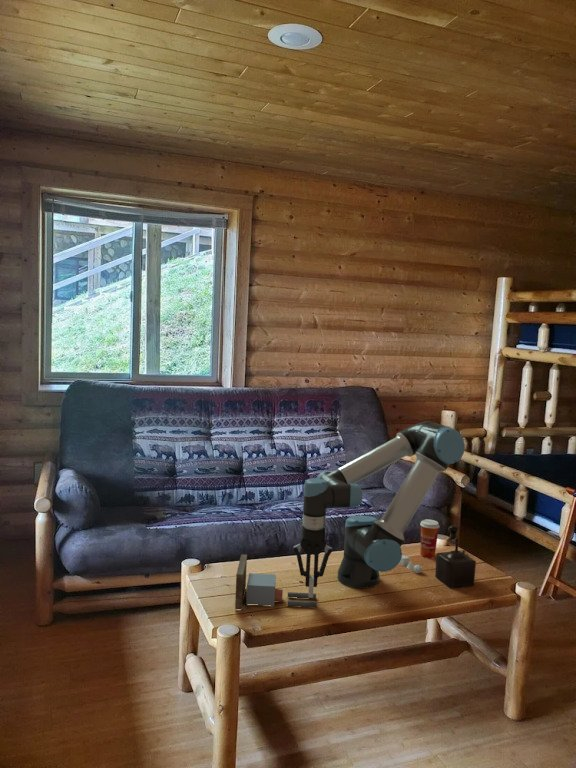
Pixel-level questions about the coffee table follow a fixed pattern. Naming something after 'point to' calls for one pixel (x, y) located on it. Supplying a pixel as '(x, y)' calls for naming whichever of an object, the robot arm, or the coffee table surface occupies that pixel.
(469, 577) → the black joystick
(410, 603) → the coffee table surface
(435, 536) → the paper cup
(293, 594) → the rails
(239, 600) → the wall
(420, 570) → the game pieces
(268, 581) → the block
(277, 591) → the dowel
